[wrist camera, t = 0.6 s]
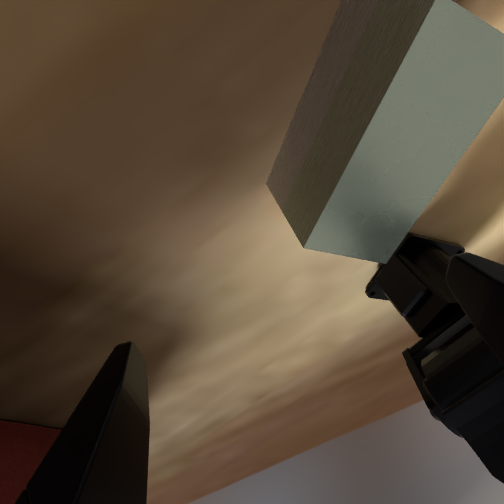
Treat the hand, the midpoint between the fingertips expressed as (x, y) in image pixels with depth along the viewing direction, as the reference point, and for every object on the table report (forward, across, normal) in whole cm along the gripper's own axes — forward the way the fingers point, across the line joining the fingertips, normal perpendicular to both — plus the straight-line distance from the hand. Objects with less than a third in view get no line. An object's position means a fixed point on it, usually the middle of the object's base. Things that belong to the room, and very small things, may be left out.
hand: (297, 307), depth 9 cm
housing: (+13, -6, -1) cm, 14 cm away
